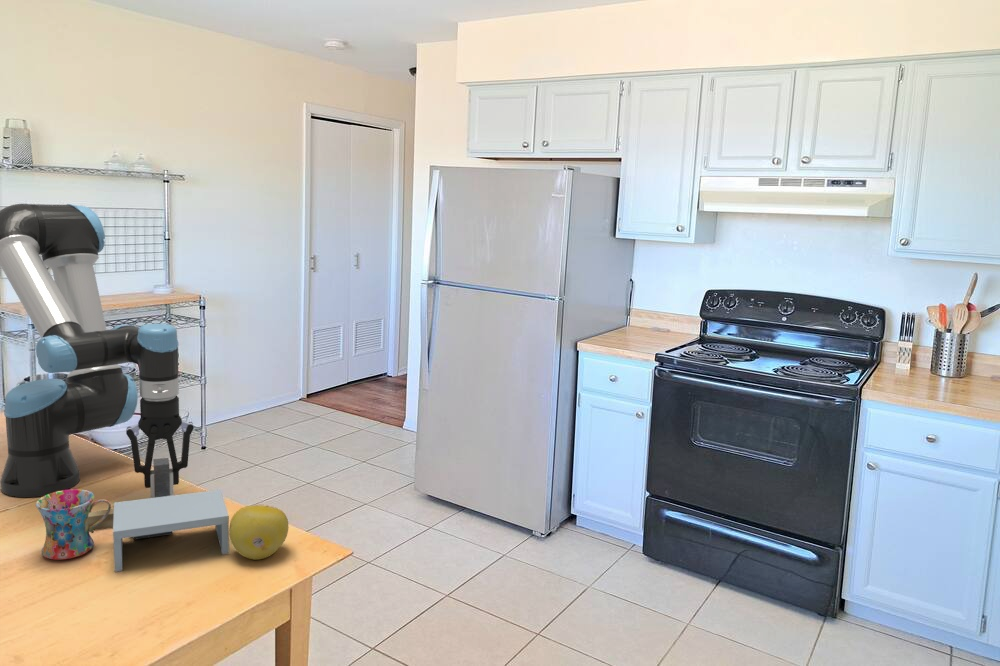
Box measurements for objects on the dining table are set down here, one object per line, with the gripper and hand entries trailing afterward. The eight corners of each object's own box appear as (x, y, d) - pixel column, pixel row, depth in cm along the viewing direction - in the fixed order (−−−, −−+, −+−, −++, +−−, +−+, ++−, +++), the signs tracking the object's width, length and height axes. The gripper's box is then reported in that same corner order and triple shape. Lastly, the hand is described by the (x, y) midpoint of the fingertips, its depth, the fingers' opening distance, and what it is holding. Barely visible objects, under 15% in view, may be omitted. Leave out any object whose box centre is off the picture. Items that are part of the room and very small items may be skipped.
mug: (40, 569, 130) (37, 513, 128) (37, 547, 137) (34, 494, 135) (115, 553, 137) (113, 500, 135) (109, 533, 144) (106, 483, 142)
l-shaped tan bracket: (65, 534, 142) (63, 501, 141) (66, 528, 145) (64, 495, 144) (122, 526, 147) (121, 494, 146) (122, 520, 150) (121, 488, 148)
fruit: (294, 559, 138) (295, 510, 136) (236, 572, 133) (235, 521, 131) (280, 537, 147) (280, 490, 145) (224, 547, 141) (223, 500, 139)
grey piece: (132, 500, 158) (131, 461, 156) (169, 495, 161) (168, 457, 160) (133, 539, 141) (131, 496, 139) (174, 533, 144) (173, 491, 143)
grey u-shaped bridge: (115, 540, 141) (114, 502, 140) (221, 525, 150) (220, 489, 148) (114, 573, 130) (113, 531, 128) (229, 554, 139) (228, 515, 137)
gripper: (116, 404, 147) (120, 511, 152) (201, 398, 155) (203, 501, 159) (117, 394, 154) (121, 497, 158) (198, 389, 161) (200, 488, 166)
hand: (162, 499), depth 159 cm, fingers closed on grey piece, 3 cm apart
